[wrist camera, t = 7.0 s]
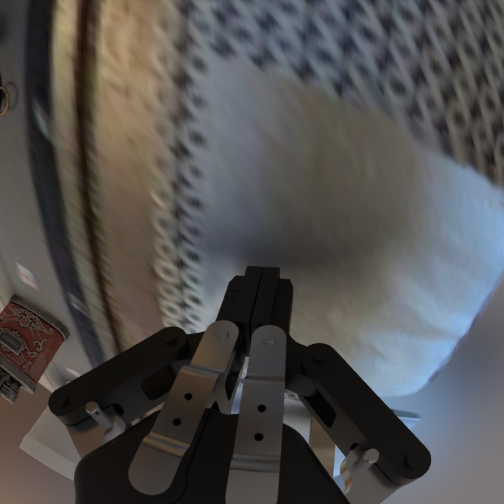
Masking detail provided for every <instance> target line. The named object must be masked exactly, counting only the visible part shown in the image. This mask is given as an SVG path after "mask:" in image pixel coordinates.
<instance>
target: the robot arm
mask: <svg viewBox="0 0 504 504" xmlns="http://www.w3.org/2000/svg"><path fill="white" fill-rule="evenodd" d="M292 301H293V285H292V283H291V281H290V279H280V268H277V267H261V266H247V269H246V272H245V276H238V275H236V276H235V277H234V278H233V279H232V280H231V281H230V282H229V285H228V287H227V291H226V293H225V296H224V299H223V302H222V305H221V307H220V310H219V313H218V316H217V319H216V321H215V322H214V323H212V324H210V325H209V326H208V327H207V329H206V331H204V332H200V333H194V334H186V333H185V331H184V330H183V329H181V328H179V327H173V326H172V327H166V328H164V329H162V330H160V331H159V332H157V333H155V334H153V335H152V336H150V337H148V338H147V339H145V340H143V341H141V342H140V343H138V344H136V345H134V346H133V347H131V348H129V349H127V350H126V351H124V352H122V353H121V354H119V355H117V356H115V357H114V358H112V359H110V360H108V361H107V362H105V363H103V364H101V365H99V366H98V367H96V368H94V369H92V370H91V371H89V372H87V373H85V374H84V375H82V376H80V377H78V378H76V379H75V380H73V381H71V382H69V383H67V384H66V385H64V386H62V387H60V388H58V389H57V390H55V391H54V392H53V393H52V394H51V396H50V398H49V402H48V406H49V409H50V411H51V412H52V413H53V414H54V415H55V416H56V417H57V418H58V419H59V420H60V421H61V422H62V423H63V424H64V425H65V426H66V428H67V430H68V432H69V434H70V437H71V439H72V441H73V443H74V445H75V447H76V449H77V451H78V454H79V456H80V458H81V460H80V461H79V463H78V464H77V466H76V469H75V472H74V485H75V495H76V497H75V499H76V500H75V504H380V503H381V502H382V501H384V500H385V499H386V498H387V497H389V496H390V495H391V494H392V493H394V492H395V491H396V490H398V489H400V488H402V487H404V486H406V485H407V484H409V483H411V482H413V481H414V480H416V479H418V478H420V477H421V476H423V475H424V474H425V473H426V472H427V471H428V469H429V467H430V465H431V455H430V452H429V451H428V449H427V448H426V447H425V446H424V445H423V444H422V443H421V442H420V440H419V439H418V438H417V437H416V436H415V435H414V434H413V433H412V432H411V431H410V430H409V429H408V428H407V427H406V426H405V425H404V423H403V422H402V421H401V420H400V419H399V418H398V417H397V416H396V415H395V414H394V413H393V412H392V411H391V410H390V409H389V407H388V406H387V405H386V404H385V403H384V402H383V401H382V400H381V399H380V398H379V397H378V396H377V395H376V394H375V392H374V391H373V390H372V389H371V388H370V387H369V386H368V385H367V384H366V383H365V382H364V381H363V380H362V379H361V377H360V376H359V375H358V374H357V373H356V372H355V371H354V370H353V369H352V368H351V367H350V366H349V365H348V363H347V362H346V361H345V360H344V359H343V358H342V357H341V356H340V355H339V354H338V353H337V352H336V351H335V349H333V348H332V347H331V346H329V345H327V344H324V343H315V344H312V345H309V346H308V347H307V346H304V345H302V344H299V343H297V342H296V341H294V340H293V339H292V338H291V336H290V334H289V331H290V323H291V314H292ZM246 356H247V357H249V362H248V369H247V376H246V377H245V378H244V383H243V390H242V397H241V404H240V411H239V414H231V406H232V402H233V399H234V396H235V393H236V390H237V387H238V384H239V382H240V379H241V376H242V373H243V365H244V361H245V357H246ZM285 389H287V390H290V391H292V392H295V393H297V394H298V397H299V398H300V400H301V401H302V402H303V404H304V405H305V406H306V407H307V409H308V410H309V411H310V413H311V414H312V415H313V417H314V418H315V419H316V420H317V422H318V423H319V424H320V425H321V427H322V428H323V429H324V431H325V432H326V433H327V434H328V436H329V437H330V438H331V439H332V441H333V442H334V443H335V444H336V446H337V447H338V448H339V449H340V450H341V452H342V453H343V454H344V455H345V457H346V458H345V459H344V460H343V462H342V463H341V466H340V474H341V476H342V478H343V480H344V483H345V490H344V493H343V492H342V491H341V490H340V488H339V487H338V486H337V484H336V483H335V481H334V480H333V479H332V477H331V476H330V475H329V473H328V472H327V470H326V469H325V468H324V466H323V465H322V463H321V462H320V460H319V459H318V458H317V456H316V455H315V453H314V452H313V450H312V449H311V448H310V446H309V445H308V443H307V442H306V440H305V439H304V438H303V437H302V436H301V435H300V433H298V432H297V431H296V430H295V429H293V428H292V427H290V426H288V425H286V424H284V423H283V410H284V391H285ZM164 401H165V402H164ZM163 402H164V405H163V407H162V409H160V410H158V411H156V412H154V413H152V414H151V415H149V416H148V417H146V418H145V419H143V420H142V421H140V422H139V423H137V424H135V425H134V426H132V427H131V428H129V429H128V430H126V431H125V425H127V424H128V423H130V422H132V421H133V420H135V419H137V418H138V417H140V416H142V415H143V414H145V413H147V412H148V411H150V410H152V409H153V408H155V407H156V406H158V405H160V404H161V403H163Z"/></svg>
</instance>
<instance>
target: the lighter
mask: <svg viewBox="0 0 504 504" xmlns="http://www.w3.org/2000/svg"><path fill="white" fill-rule="evenodd" d="M69 335H70V332H69V330H68V328H67V327H66V326H65V325H64V324H63V323H62V322H61V321H60V320H58V319H57V318H55V317H54V316H52V315H51V314H49V313H48V312H46V311H45V310H43V309H42V308H40V307H39V306H37V305H35V304H34V303H32V302H30V301H28V300H26V299H25V298H22V297H20V296H18V295H16V294H14V295H13V296H12V297H11V298H10V299H9V303H8V305H7V306H6V307H5V308H4V310H3V311H2V312H1V313H0V397H1V396H3V397H4V398H5V399H7V400H8V401H9V402H11V403H12V404H14V402H15V401H16V399H17V397H18V393H19V389H20V387H21V388H23V389H25V390H26V391H28V392H30V393H31V394H33V393H34V392H35V390H36V388H37V386H36V384H37V383H38V381H39V379H40V378H41V376H42V374H43V373H44V371H45V369H46V368H47V366H48V364H49V363H50V361H51V360H52V358H53V356H54V355H55V353H56V352H57V350H58V349H59V347H60V345H61V344H62V342H65V341H66V340H67V338H68V336H69Z"/></svg>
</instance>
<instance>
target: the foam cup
mask: <svg viewBox="0 0 504 504" xmlns="http://www.w3.org/2000/svg"><path fill="white" fill-rule="evenodd" d="M69 382H71V381H67V382H66V384H67V383H69ZM66 384H65V385H66ZM20 448H21V449H23V450H24V451H25V452H27V453H28V454H30V455H31V456H33V457H34V458H36V459H37V460H39V461H40V462H42V463H43V464H45V465H47V466H48V467H50V468H52V469H53V470H55V471H57V472H59V473H60V474H62V475H64V476H66V477H67V478H69V479H71V480H73V481H74V472H75V469H76V466H77V464H78V463H79V461H80V460H81V458H80V456H79V454H78V451H77V449H76V447H75V445H74V443H73V441H72V439H71V437H70V434H69V432H68V430H67V428H66V426H65V425H64V424H63V423H62V422H61V421H60V420H59V419H58V418H57V417H56V416H55V415H54V414H53V413H52V412H51V411H50V409H49V406H48V407H47V408H46V410H45V411H44V412H43V414H42V415H41V416H40V418H39V419H38V420H37V422H36V423H35V425H34V426H33V427H32V429H31V430H30V432H29V433H28V434H26V435H25V437H24V439H23V441H22V443H21V445H20Z"/></svg>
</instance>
